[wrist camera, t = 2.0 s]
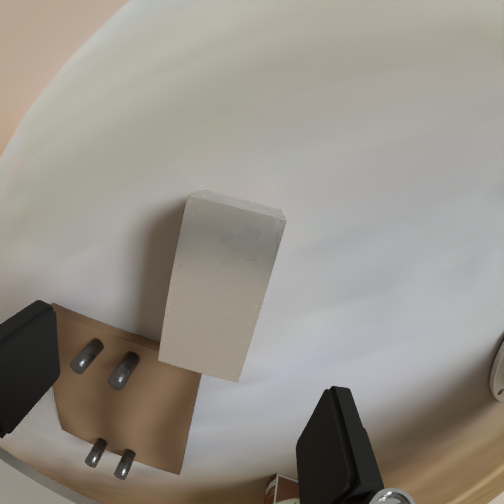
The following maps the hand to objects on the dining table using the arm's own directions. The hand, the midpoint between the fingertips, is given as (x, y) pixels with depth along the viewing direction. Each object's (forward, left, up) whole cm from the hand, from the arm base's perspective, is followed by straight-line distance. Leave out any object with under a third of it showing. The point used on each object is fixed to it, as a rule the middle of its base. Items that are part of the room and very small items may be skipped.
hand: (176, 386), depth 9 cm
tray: (+7, +15, -12) cm, 21 cm away
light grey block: (0, 0, -12) cm, 13 cm away
